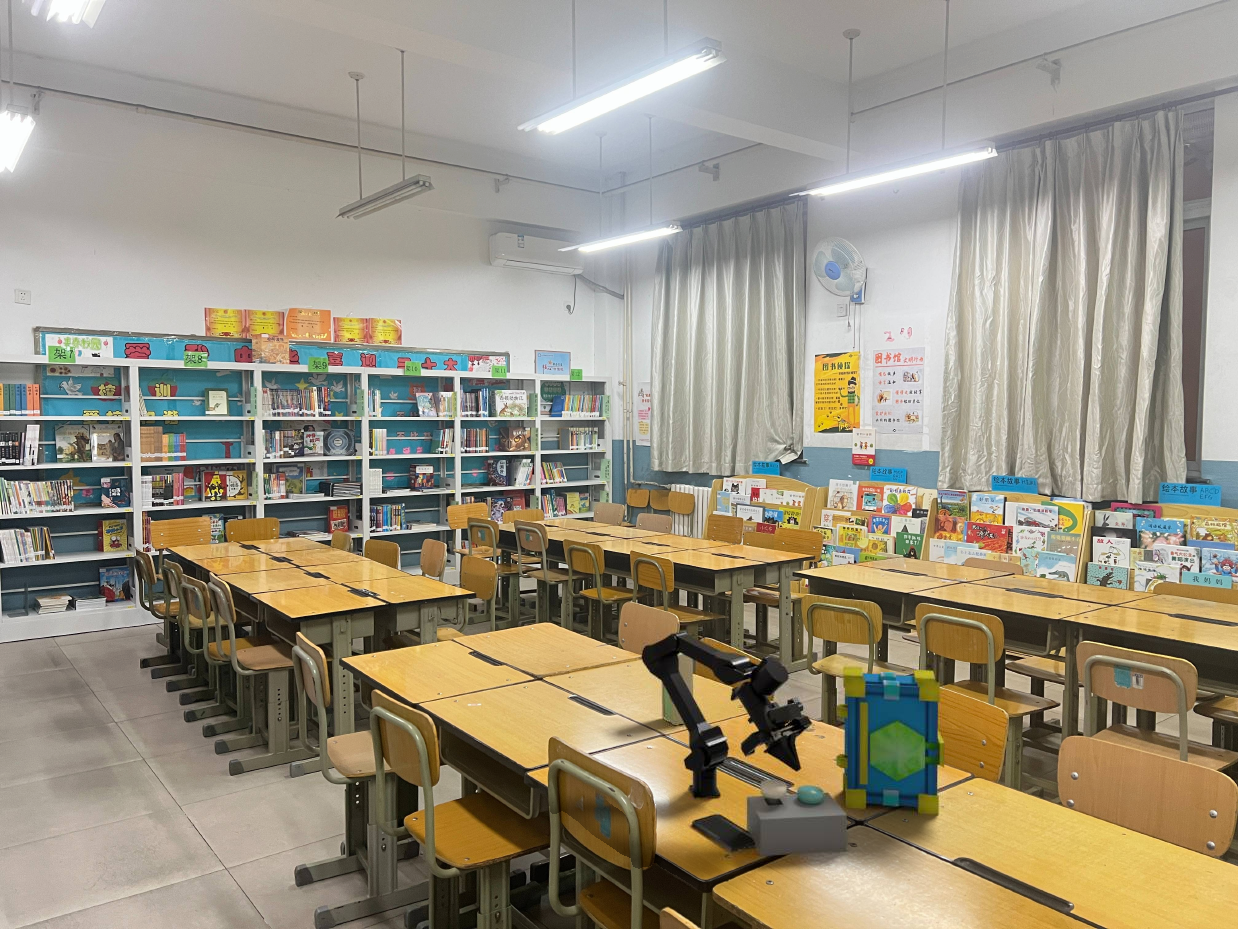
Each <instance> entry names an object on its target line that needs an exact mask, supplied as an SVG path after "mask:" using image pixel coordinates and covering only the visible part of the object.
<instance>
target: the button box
mask: <svg viewBox="0 0 1238 929" xmlns="http://www.w3.org/2000/svg"><path fill="white" fill-rule="evenodd" d="M847 821H848V820H847V813H846V812H845V811H844V810H843V809H842V807H841V806H840V805H839V803H838V802H836V800H835V799H834V798H833V797H832V795H831V794H830V793H829V792H823V802H821V803H819V804H806V803H803V802H800V801H799V800H798V799H797V793H795V794H791V793H789V794H786V796H785V797H783V798H778V805H769V798H768V797H765V796H763V795H755V796H754V795H753V796H747V797H746V831H748V832H750V835H751V837H752V838H753V840H754V842H755V846H754V848H756V850H757V852H758V854H759V856H760V857H765V856H766V857H767V856H783V855H784V856H785V855H797V854H801V855H802V854H817V853H832V852H833V853H834V852H846V851H847V824H848V823H847Z"/></svg>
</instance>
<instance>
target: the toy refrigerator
mask: <svg viewBox="0 0 1238 929" xmlns="http://www.w3.org/2000/svg"><path fill="white" fill-rule="evenodd" d="M677 656H678V658H679V672H680V674H681V676H682V678H683V680H684V681H685V683H686V685H687V687H688V689H689V690H690V692H691V694H692V696H693V697H694V662H693V661H694V660H693V659H691V658H689V657H687V656H686V655H684V654H682V653H680V654H678V655H677ZM661 710H662V711H661V717H663V718H665V719H666V720H668V721H669V722H671V723H672V724H673V725H672V724H671V723H670V724H671V725H672V726H674V725H677V726H680V725H679V724H683V725H685V724H684V722H683V720H682V718H681V716H680V715H679V713H678V711H677V709H676V707H675V705H674V703H673V702H672V700H671V698H670V696H669V694H668V692H667V690H666V688H665V687H664V685H663V683H662V682H661ZM663 718H662V719H663ZM666 720H665V721H666ZM669 722H668V723H669Z"/></svg>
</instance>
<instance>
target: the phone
mask: <svg viewBox="0 0 1238 929" xmlns="http://www.w3.org/2000/svg"><path fill="white" fill-rule="evenodd" d="M691 826H692V827H693V829H696V830H697V831H698V832H700V833H702V834H703V835H705V836H706V837H707V838H709V839H711V840H712V841H713V842H715V843H717V844H718V845H720V846H721V847H723V848H724V849H726V850H727V851H729V852H730V853H737V852H740V851H741V852H742V851H744V850H747V849H751V848H755V842H754V840H753V838H752V837H751V835H750V832H748V831H747V829H745V828H743V827H741V826H740V825H738V823H737V824H736V823H735V822H734V821H732V820H730V819H728V818H727V817H725V816H723V815H722V814H718V813H715V814H711V815H708V816H705V817H701V818H697V819H693V820H692V821H691Z"/></svg>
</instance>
